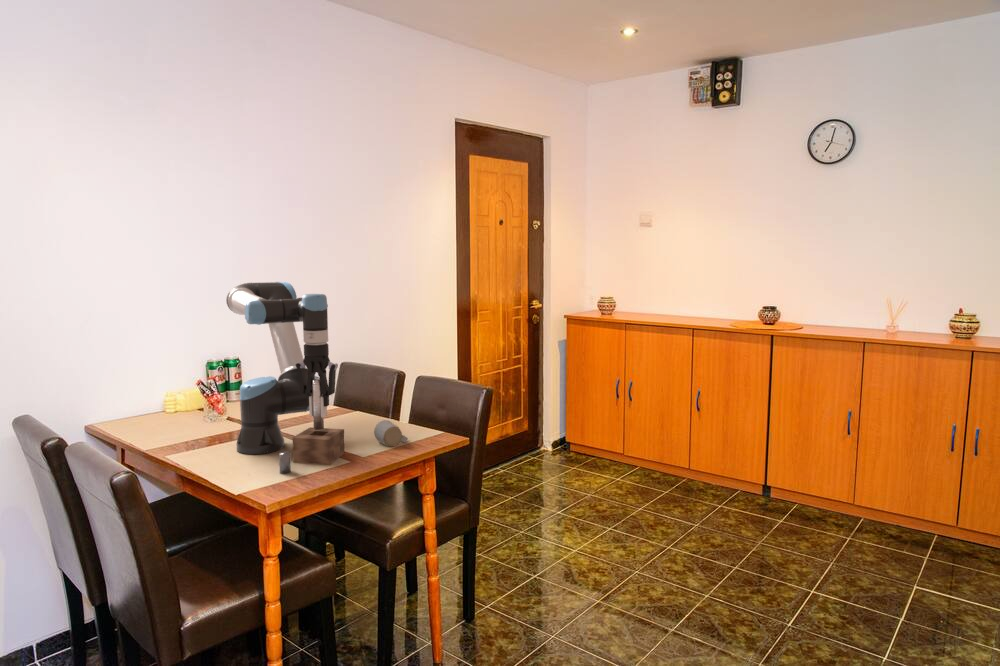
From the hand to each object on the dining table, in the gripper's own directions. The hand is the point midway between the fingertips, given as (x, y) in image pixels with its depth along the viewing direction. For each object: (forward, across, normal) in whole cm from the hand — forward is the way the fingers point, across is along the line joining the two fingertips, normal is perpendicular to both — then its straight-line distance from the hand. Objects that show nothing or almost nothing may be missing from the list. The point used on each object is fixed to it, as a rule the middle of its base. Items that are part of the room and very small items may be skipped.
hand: (318, 415), depth 214 cm
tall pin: (+4, 0, 0) cm, 4 cm away
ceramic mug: (+14, +18, +20) cm, 30 cm away
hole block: (+14, 0, 0) cm, 14 cm away
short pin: (+14, -4, -15) cm, 21 cm away
